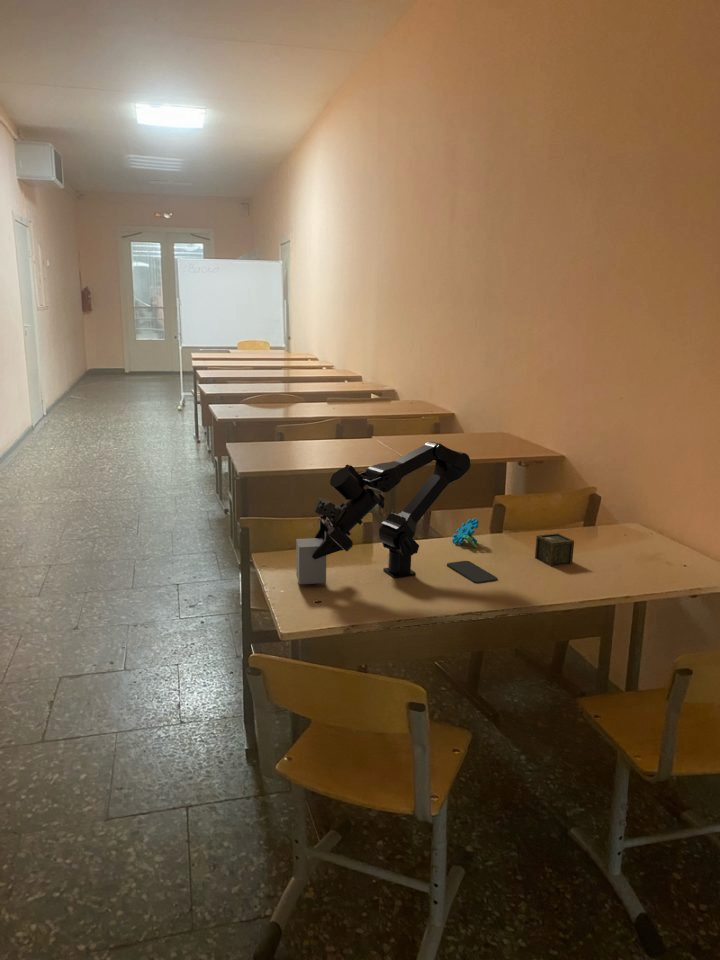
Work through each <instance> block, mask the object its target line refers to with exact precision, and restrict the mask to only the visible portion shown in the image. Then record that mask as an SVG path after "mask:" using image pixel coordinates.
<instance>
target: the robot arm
mask: <svg viewBox="0 0 720 960" xmlns="http://www.w3.org/2000/svg"><path fill="white" fill-rule="evenodd" d="M432 462H435V463H434V471H433V473H432V474H431V475H430V477H429V478H428V479H427V481H426V482H425V483H424V484H423V485H422V486H421V488H420V489H419V490H418V491H417V493H416V494H415V495H414V496H413V497H412V499H411V500H410V501H409V502H408V504H407V505H406V506H405V507H404V509H403V510H402V511H401V512H399V513H395V512H393V511H392V512H390V513H389V514H388V515H387V517H386V518H385V519H384V521H382V522H381V526H380V527H379V530H378V533H379V534H378V537H379V539H380V542H382V547H383V548H384V549H388V567H384V568H383V570H382V571H384V572H385V573H387V574H389V575H390V576H391V577H392V578H395V579H397V578H402V577H408V576H415V575H416V574H417V573H416V572H415V571H414V570H412V569H411V568H412V556H414V555H415V554H416V555H417V554H418V552H419V548H420V544H418V542H416V540H415V539H414V536H415V535H416V530H417V524H418V523H419V521H421V519H422V517H424V515H425V514H426V513H427V511H428V510H429V509H430V508H431V506H433V504H434V503H435V502H436V500H437V499H438V498H439V497H440V496H441V494H442V493H443V492H444V490H445V489H446V488H447V487H448V486H449V484H451V483H453V482H456V481H458V480H460V479H461V478H462V477H463V476H464V475H465V474H467V473H468V471H469V470H470V468H471V459H470V456H469V455H468V454H467V453H466V452H461V451H457V450H453V449H450V448H449V447H447V446H446V445H444V444H442V443H441V442H434V441H428V442H427V441H426V443H424V445H421V446H420V447H418V448H415V449H414V450H412V451H409V452H408V453H407V454H405V455H402V456H400V457H399V458H397V459H394V460H393V461H388V462H381V463H376V464H374V465H370V466H369V467H367V469H366V470H364V471H362V472H358V471H357V470H356V468H354V466H352V465H350V464H346V465H345V466H344V467H343V468H340V469H338V470H337V471H336V472H333V474H332V475H331V477H330V480H329V485H330V486H331V487H332V488H333V489H334V490H335V491H336V492H337V493H339V495H340V496H342V497H343V498H344V499H345V500H347V501H346V502H345V501H343V502H340V503H339V504H336V503H335V502H332V501H330V500H328V499H325V498H323V497H320V496H318V497H317V499H316V502H315V503H314V506H313V510H314V513H316V514H318V516H319V519H318V530H317V531H316V534H315V535H314V536H313V538H323V542H322V543H321V544H320V546H319V547H318V548H317V550H316V551H315V552H314V554H313V555H312V558H314V559H318V558H320V557H323V556H326V557H327V556H328V555H329V556H330V555H331V554H334V553H337V552H340V551H342V552H343V551H345V552H349V550H351V549H352V548H353V546H354V545H353V544H354V542H353V539H352V537H351V531H352V530H353V529H354V528H355V527H356V526H357V525H358V524H359V526H361V524H363V519H364V518H365V517H366V516H367V515H368V514H369V513H370V512H371V511H372V510H373V509H374V508H375V507H376V506H377V505H378V506H379V507H380V508H381V509H384V508H385V497H384V496H383V494H381V493H380V494H377V493H376V492H375V491H374V490H376V491H379V492H382V493H388V492H391V491H392V490H394V488H395V487H397V486H398V485H399V484H400V482H401V481H402V479H403V478H404V477H406V476H407V475H409V474H412V473H413V472H415V471H417V470H418V469H420V468H422V467H425V466H426V465H428V464H430V463H432ZM366 487H368V488H366Z"/></svg>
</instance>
